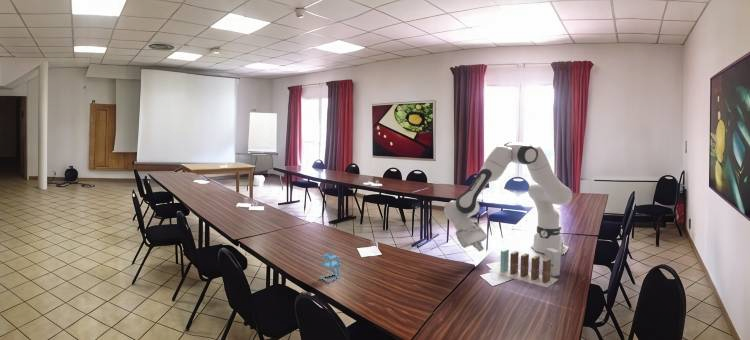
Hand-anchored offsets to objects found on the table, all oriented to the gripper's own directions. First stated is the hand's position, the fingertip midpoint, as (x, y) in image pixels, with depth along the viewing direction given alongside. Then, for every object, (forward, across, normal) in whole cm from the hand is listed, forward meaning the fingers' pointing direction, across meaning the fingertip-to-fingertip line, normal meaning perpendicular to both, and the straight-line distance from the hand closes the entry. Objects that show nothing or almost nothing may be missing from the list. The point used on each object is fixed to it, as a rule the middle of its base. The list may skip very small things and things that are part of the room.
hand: (481, 250), depth 189 cm
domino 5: (+28, 0, -18) cm, 33 cm away
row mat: (+21, 0, -10) cm, 23 cm away
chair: (-23, -66, +34) cm, 77 cm away
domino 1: (+14, 0, -4) cm, 14 cm away
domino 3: (+21, 0, -11) cm, 24 cm away
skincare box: (+27, +12, -16) cm, 34 cm away
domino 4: (+24, 0, -14) cm, 28 cm away
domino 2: (+17, 0, -7) cm, 19 cm away
